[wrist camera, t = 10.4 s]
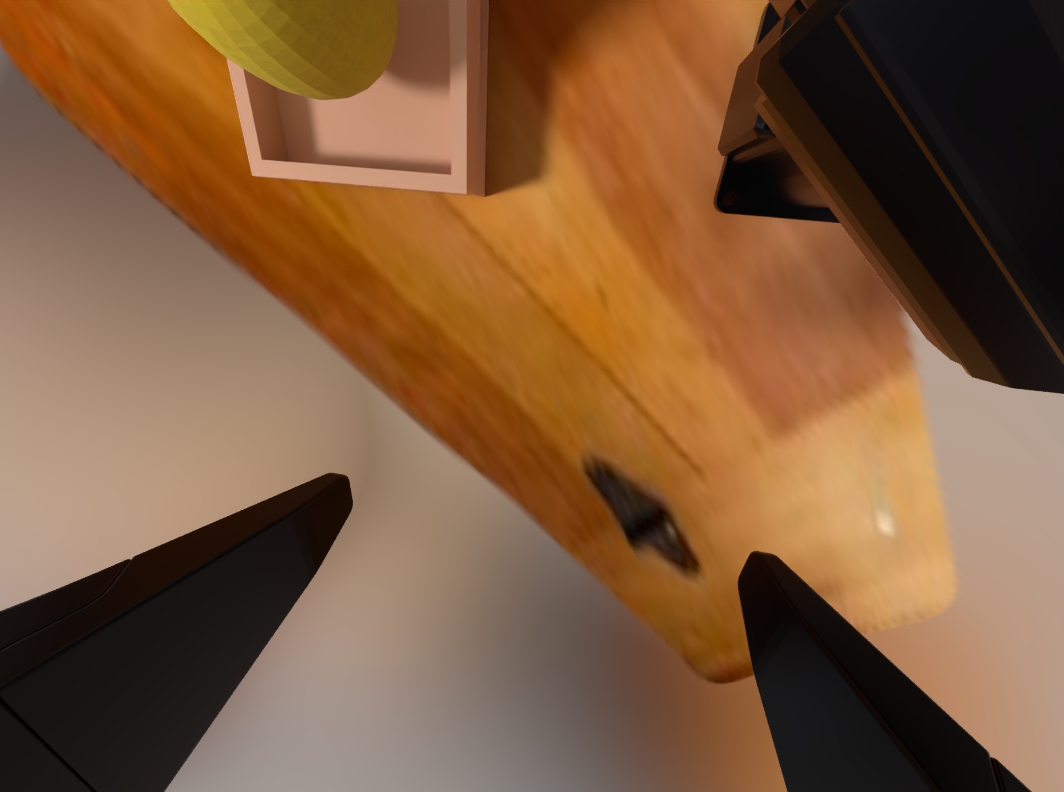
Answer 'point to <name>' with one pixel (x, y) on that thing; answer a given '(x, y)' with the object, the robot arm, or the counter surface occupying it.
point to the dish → (385, 112)
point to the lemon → (301, 40)
